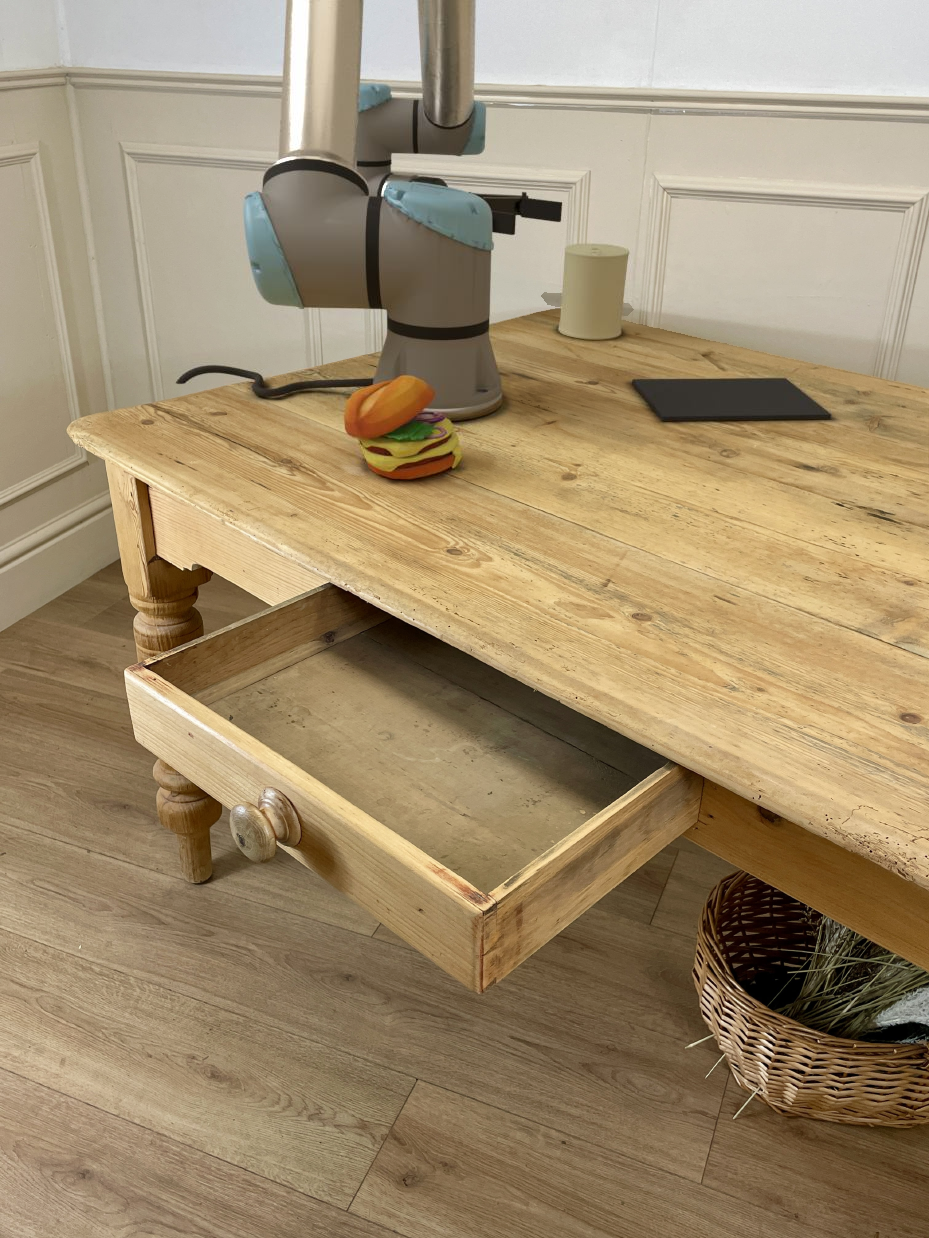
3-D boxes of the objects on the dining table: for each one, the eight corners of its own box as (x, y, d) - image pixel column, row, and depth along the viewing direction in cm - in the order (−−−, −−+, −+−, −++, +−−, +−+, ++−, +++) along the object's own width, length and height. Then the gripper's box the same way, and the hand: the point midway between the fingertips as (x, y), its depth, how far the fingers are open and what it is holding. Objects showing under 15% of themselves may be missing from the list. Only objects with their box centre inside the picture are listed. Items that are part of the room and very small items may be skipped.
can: (555, 337, 143) (561, 250, 137) (560, 321, 151) (567, 238, 145) (620, 342, 142) (629, 254, 135) (622, 325, 149) (630, 242, 143)
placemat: (662, 421, 113) (663, 416, 113) (631, 383, 125) (632, 379, 124) (830, 419, 115) (831, 414, 115) (784, 382, 127) (785, 377, 127)
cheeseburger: (464, 485, 95) (440, 386, 90) (357, 506, 96) (327, 410, 91) (465, 446, 104) (444, 353, 99) (367, 466, 105) (340, 375, 100)
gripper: (461, 217, 164) (575, 233, 154) (368, 239, 146) (491, 259, 136) (462, 168, 160) (580, 181, 150) (367, 184, 142) (493, 200, 132)
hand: (538, 218), depth 143 cm, fingers open, 13 cm apart
